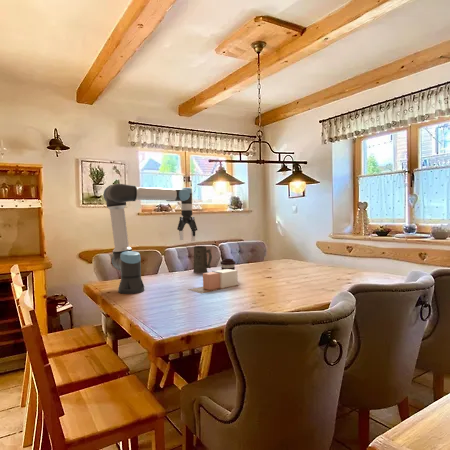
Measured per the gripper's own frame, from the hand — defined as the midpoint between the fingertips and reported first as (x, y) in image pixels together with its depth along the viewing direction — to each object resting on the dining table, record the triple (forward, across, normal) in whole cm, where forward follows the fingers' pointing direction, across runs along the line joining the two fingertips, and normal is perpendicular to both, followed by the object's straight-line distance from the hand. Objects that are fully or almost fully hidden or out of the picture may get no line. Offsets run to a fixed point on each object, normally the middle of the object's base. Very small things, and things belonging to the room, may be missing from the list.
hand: (187, 240), depth 248 cm
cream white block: (+26, -38, 0) cm, 46 cm away
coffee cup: (+27, -28, -12) cm, 41 cm away
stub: (+26, -38, +10) cm, 47 cm away
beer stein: (+27, +14, -26) cm, 40 cm away
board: (+27, -38, +8) cm, 47 cm away
